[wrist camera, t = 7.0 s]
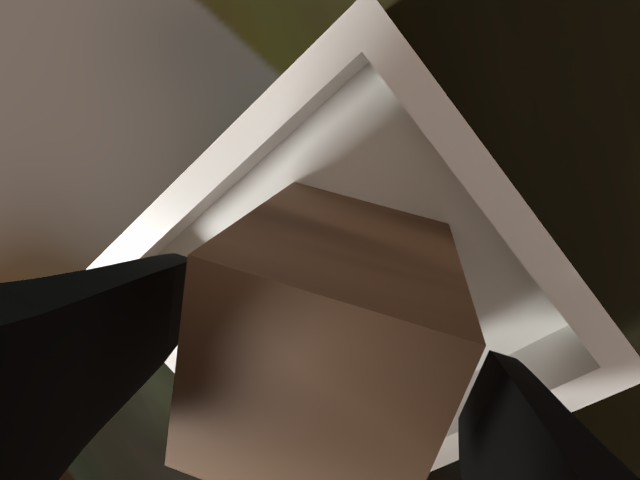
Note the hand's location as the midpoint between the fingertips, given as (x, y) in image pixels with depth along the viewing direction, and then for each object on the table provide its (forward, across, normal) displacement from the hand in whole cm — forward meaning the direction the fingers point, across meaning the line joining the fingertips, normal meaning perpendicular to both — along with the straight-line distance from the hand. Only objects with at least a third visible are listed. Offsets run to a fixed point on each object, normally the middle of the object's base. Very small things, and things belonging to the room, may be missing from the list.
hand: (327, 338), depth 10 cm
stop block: (+3, 0, 0) cm, 3 cm away
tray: (+3, 0, 0) cm, 3 cm away
